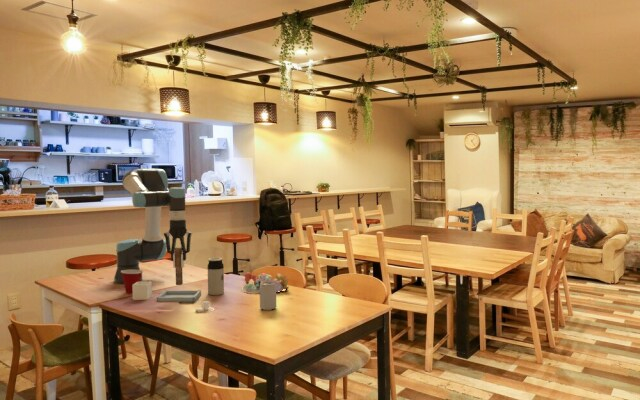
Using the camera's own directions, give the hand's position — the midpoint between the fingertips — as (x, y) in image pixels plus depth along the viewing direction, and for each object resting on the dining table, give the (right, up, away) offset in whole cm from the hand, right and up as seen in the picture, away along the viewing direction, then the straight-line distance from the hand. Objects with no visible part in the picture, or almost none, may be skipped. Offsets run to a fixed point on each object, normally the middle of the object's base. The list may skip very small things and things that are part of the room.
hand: (178, 267), depth 243 cm
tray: (0, -16, +1) cm, 16 cm away
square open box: (-18, -16, +1) cm, 24 cm away
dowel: (0, -9, 0) cm, 9 cm away
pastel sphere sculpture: (+40, -15, +20) cm, 47 cm away
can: (+45, -17, -17) cm, 51 cm away
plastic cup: (-27, -15, +13) cm, 34 cm away
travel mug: (+16, -15, +11) cm, 25 cm away
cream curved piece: (+14, -18, -17) cm, 29 cm away
